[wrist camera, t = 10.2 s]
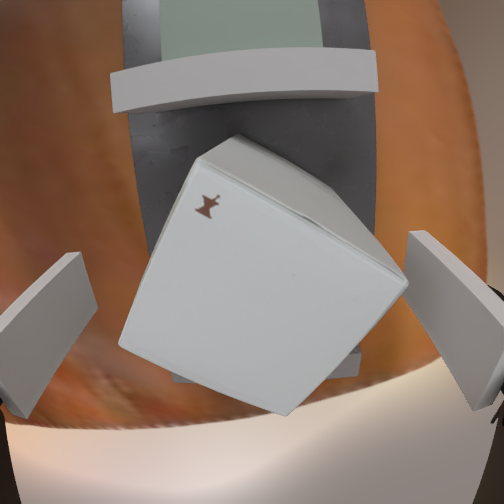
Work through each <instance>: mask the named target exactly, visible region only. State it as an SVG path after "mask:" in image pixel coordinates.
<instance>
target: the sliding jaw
mask: <svg viewBox="0 0 504 504" xmlns="http://www.w3.org/2000/svg"><path fill="white" fill-rule="evenodd" d="M159 12H160V36H161V53H162V61H161V62H156V63H151V64H147V65H142V66H138V67H133V68H129V69H125V70H121V71H117V72H114V73H110V80H111V93H112V105H113V113H157V112H163V111H169V110H176V109H182V108H190V107H197V106H205V105H214V104H223V103H233V102H245V101H259V100H277V99H310V98H334V99H348V98H352V97H357V96H361V95H366V94H371V93H376V92H379V90H378V76H377V64H376V53H375V50H364V49H350V48H326V47H323V41H322V32H321V23H320V14H319V6H318V0H159Z"/></svg>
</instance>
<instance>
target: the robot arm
mask: <svg viewBox="0 0 504 504" xmlns="http://www.w3.org/2000/svg"><path fill="white" fill-rule="evenodd" d="M403 274H404V275H405V277H406V278H407V280H408V281H409V285H408V287H407V289H406V290H405V291H404V292H403V293H402V294H401V295H402V296H403V297H404V299H405V300H406V302H407V303H408V305H409V306H410V308H411V309H412V311H413V312H414V314H415V315H416V317H417V318H418V320H419V321H420V323H421V325H422V326H423V328H424V329H425V331H426V332H427V334H428V336H429V337H430V339H431V340H432V342H433V343H434V345H435V347H436V348H437V350H438V352H439V353H440V355H441V356H442V358H443V360H444V361H445V363H446V365H447V367H448V368H449V370H450V372H451V373H452V375H453V376H454V378H455V380H456V382H457V384H458V385H459V387H460V389H461V390H462V393H463V394H464V396H465V398H466V400H467V401H468V403H469V405H470V407H471V409H472V411H475V410H478V409H481V408H484V407H486V406H489V405H492V404H493V402H494V400H495V398H496V397H497V395H498V393H499V391H500V390H501V391H502V393H503V394H504V296H503V295H502V293H501V292H499V291H498V290H496V289H494V288H492V287H491V286H489V285H486V284H485V283H484V282H483V281H482V280H481V279H480V278H479V277H478V276H477V275H476V274H475V273H473V272H472V271H471V270H470V269H469V268H468V267H467V266H466V265H465V264H464V263H462V262H461V261H460V260H459V259H458V258H457V257H456V256H455V255H453V254H452V253H451V252H450V251H449V250H448V249H447V248H445V247H444V246H443V245H442V244H441V243H440V242H438V241H437V240H436V239H435V238H434V237H432V236H431V235H430V234H429V233H428V232H426V231H409V232H408V242H407V250H406V258H405V266H404V273H403ZM97 309H98V306H97V303H96V300H95V297H94V294H93V291H92V288H91V284H90V281H89V278H88V275H87V271H86V268H85V265H84V261H83V257H82V254H81V252H73V253H66V254H65V255H64V256H63V257H62V258H61V259H59V260H58V261H57V262H56V263H55V264H54V265H53V266H52V267H50V268H49V269H48V270H47V271H46V272H45V273H44V274H43V275H42V276H41V277H40V278H38V279H37V280H36V281H35V282H34V283H33V284H32V285H31V286H30V287H29V288H28V289H27V290H26V291H25V292H24V293H23V294H22V295H21V296H20V297H19V298H17V299H16V300H15V301H14V302H13V303H12V304H11V305H10V306H9V307H8V308H7V309H6V310H5V311H4V313H3V314H2V315H1V316H0V406H1V404H2V403H4V404H5V405H6V407H7V408H8V410H9V411H10V412H11V414H12V415H15V416H18V417H22V418H25V419H28V417H29V415H30V414H31V412H32V410H33V408H34V407H35V405H36V403H37V402H38V400H39V398H40V397H41V395H42V393H43V392H44V390H45V388H46V387H47V385H48V383H49V382H50V380H51V379H52V377H53V375H54V374H55V372H56V371H57V369H58V367H59V366H60V364H61V363H62V361H63V360H64V358H65V356H66V355H67V353H68V352H69V350H70V349H71V347H72V346H73V344H74V343H75V341H76V340H77V338H78V337H79V335H80V334H81V332H82V331H83V330H84V328H85V327H86V325H87V324H88V322H89V321H90V319H91V318H92V316H93V315H94V314H95V312H96V311H97ZM497 418H498V422H497V426H496V431H495V435H494V439H493V443H492V446H491V450H490V453H489V457H488V461H487V464H486V467H485V470H484V473H483V476H482V479H481V482H480V485H479V488H478V491H477V493H476V496H475V499H474V501H473V504H504V401H503V402H502V404H501V406H500V407H499V409H498V410H497V412H496V414H495V415H494V417H493V419H492V421H491V423H494V422H495V420H496V419H497ZM0 504H21V501H20V497H19V493H18V489H17V485H16V481H15V477H14V473H13V468H12V463H11V458H10V452H9V446H8V441H7V434H6V427H5V419H4V415H3V412H2V411H1V410H0Z"/></svg>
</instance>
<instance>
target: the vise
mask: <svg viewBox="0 0 504 504" xmlns="http://www.w3.org/2000/svg"><path fill="white" fill-rule="evenodd" d="M318 6H319V14H320V23H321V32H322V41H323V47H326V48H350V49H364V50H371V49H370V40H369V32H368V24H367V17H366V10H365V3H364V0H318ZM122 24H123V54H124V70H125V69H129V68H133V67H138V66H142V65H147V64H151V63H156V62H161V61H162V53H161V36H160V12H159V0H122ZM128 120H129V129H130V138H131V146H132V154H133V161H134V168H135V175H136V182H137V189H138V195H139V201H140V207H141V213H142V218H143V224H144V229H145V235H146V240H147V245H148V250H149V255H150V258H151V255H152V253H153V250H154V248H155V246H156V243H157V241H158V239H159V236H160V234H161V232H162V229H163V227H164V225H165V223H166V221H167V218H168V216H169V214H170V212H171V210H172V207H173V205H174V203H175V201H176V199H177V197H178V194H179V192H180V190H181V188H182V186H183V184H184V182H185V180H186V178H187V176H188V174H189V172H190V170H191V167H192V166H193V164H194V162H195V160H196V159H197V158H198V157H200V156H201V155H203V154H205V153H206V152H208V151H210V150H211V149H213V148H214V147H216V146H218V145H219V144H221V143H223V142H224V141H226V140H228V139H229V138H231V137H233V136H234V135H236V134H240V135H242V136H244V137H246V138H248V139H250V140H252V141H254V142H255V143H257V144H259V145H261V146H263V147H265V148H267V149H268V150H270V151H272V152H274V153H276V154H277V155H279V156H281V157H283V158H285V159H286V160H288V161H290V162H291V163H293V164H295V165H296V166H298V167H300V168H301V169H303V170H304V171H306V172H308V173H309V174H311V175H312V176H314V177H316V178H317V179H319V180H320V181H322V182H323V183H325V184H326V185H328V186H329V187H331V188H332V189H333V190H334V191H335V193H336V194H337V195H338V196H339V197H340V198H341V200H342V201H343V202H344V203H345V204H346V205H347V206H348V207H349V208H350V210H351V211H352V212H353V213H354V214H355V215H356V216H357V217H358V219H359V220H360V221H361V222H362V223H363V224H364V225H365V227H366V228H367V229H368V230H369V231H370V232H371V233H372V235H373V236H374V225H375V203H376V120H375V99H374V93H371V94H366V95H361V96H357V97H352V98H348V99H334V98H310V99H277V100H259V101H245V102H233V103H223V104H214V105H205V106H197V107H190V108H182V109H176V110H169V111H163V112H157V113H128ZM361 356H362V352H361V349H360V346H359V343H358V344H357V345H356V347H355V348H354V349H353V350H352V351H351V352H350V353H349V354H348V355H347V357H346V358H345V359H344V360H343V361H342V362H341V363H340V364H339V365H338V366H337V367H336V368H335V370H334V371H333V372H332V373H331V374H330V375H329V376H328V377H327V378H326V379H334V378H344V377H353V376H358V373H359V367H360V362H361ZM170 372H171V371H170ZM171 375H172V379H173V382H175V383H196V382H193V381H191V380H189V379H187V378H184V377H182V376H180V375H178V374H175V373H173V372H171Z"/></svg>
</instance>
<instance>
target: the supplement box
mask: <svg viewBox="0 0 504 504" xmlns="http://www.w3.org/2000/svg"><path fill="white" fill-rule="evenodd" d="M408 285H409V281H408V280H407V278H406V277H405V275H404V274H403V272H402V271H401V270H400V268H399V267H398V266H397V264H396V263H395V261H394V260H393V259H392V258H391V256H390V255H389V254H388V252H387V251H386V250H385V249H384V248H383V246H382V245H381V244H380V243H379V242H378V240H377V239H376V238H375V237H374V236H373V235H372V233H371V232H370V231H369V230H368V229H367V228H366V227H365V225H364V224H363V223H362V222H361V221H360V220H359V219H358V217H357V216H356V215H355V214H354V213H353V212H352V211H351V210H350V208H349V207H348V206H347V205H346V204H345V203H344V202H343V201H342V200H341V198H340V197H339V196H338V195H337V194H336V193H335V191H334V190H333V189H332V188H331V187H329V186H328V185H326V184H325V183H323V182H322V181H320V180H319V179H317V178H316V177H314V176H312V175H311V174H309V173H308V172H306V171H304V170H303V169H301V168H300V167H298V166H296V165H295V164H293V163H291V162H290V161H288V160H286V159H285V158H283V157H281V156H279V155H277V154H276V153H274V152H272V151H270V150H268V149H267V148H265V147H263V146H261V145H259V144H257V143H255V142H254V141H252V140H250V139H248V138H246V137H244V136H242V135H240V134H236V135H234V136H233V137H231V138H229V139H228V140H226V141H224V142H223V143H221V144H219V145H218V146H216V147H214V148H213V149H211V150H210V151H208V152H206V153H205V154H203V155H201V156H200V157H198V158H197V159H196V160H195V162H194V164H193V166H192V167H191V170H190V172H189V174H188V176H187V178H186V180H185V182H184V184H183V186H182V188H181V190H180V192H179V194H178V197H177V199H176V201H175V203H174V205H173V207H172V210H171V212H170V214H169V216H168V218H167V221H166V223H165V225H164V227H163V229H162V232H161V234H160V236H159V239H158V241H157V243H156V246H155V248H154V250H153V253H152V255H151V258H150V260H149V263H148V265H147V268H146V270H145V272H144V275H143V278H142V280H141V283H140V285H139V288H138V290H137V293H136V296H135V299H134V301H133V304H132V307H131V309H130V312H129V315H128V318H127V320H126V323H125V326H124V329H123V331H122V334H121V336H120V339H119V342H118V344H119V346H120V347H122V348H124V349H126V350H128V351H130V352H131V353H133V354H135V355H137V356H139V357H142V358H144V359H146V360H148V361H150V362H152V363H154V364H156V365H158V366H160V367H163V368H165V369H167V370H169V371H171V372H173V373H175V374H178V375H180V376H182V377H184V378H187V379H189V380H191V381H193V382H196V383H198V384H200V385H203V386H205V387H207V388H210V389H212V390H215V391H217V392H220V393H222V394H225V395H227V396H230V397H232V398H235V399H238V400H240V401H243V402H245V403H248V404H251V405H254V406H256V407H259V408H262V409H265V410H268V411H270V412H273V413H276V414H279V415H282V416H288V415H289V414H290V413H291V412H292V411H293V410H294V409H295V408H296V407H297V406H298V405H299V404H300V403H302V402H303V401H304V400H305V399H306V398H307V397H308V396H309V395H310V394H311V393H312V392H313V391H314V390H315V389H316V388H317V387H318V386H319V385H320V384H321V383H322V382H323V381H324V380H325V379H326V378H327V377H328V376H329V375H330V374H331V373H332V372H333V371H334V370H335V368H336V367H337V366H338V365H339V364H340V363H341V362H342V361H343V360H344V359H345V358H346V357H347V355H348V354H349V353H350V352H351V351H352V350H353V349H354V348H355V347H356V345H357V344H358V343H359V342H360V341H361V340H362V339H363V338H364V337H365V336H366V335H367V334H368V333H369V331H370V330H371V329H372V328H373V327H374V326H375V325H376V324H377V323H378V322H379V320H380V319H381V318H382V317H383V316H384V315H385V313H386V312H387V311H388V310H389V309H390V308H391V306H392V305H393V304H394V303H395V301H396V300H397V299H398V298H399V297H400V296H401V294H402V293H403V292H404V291H405V290H406V289H407V287H408Z"/></svg>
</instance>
